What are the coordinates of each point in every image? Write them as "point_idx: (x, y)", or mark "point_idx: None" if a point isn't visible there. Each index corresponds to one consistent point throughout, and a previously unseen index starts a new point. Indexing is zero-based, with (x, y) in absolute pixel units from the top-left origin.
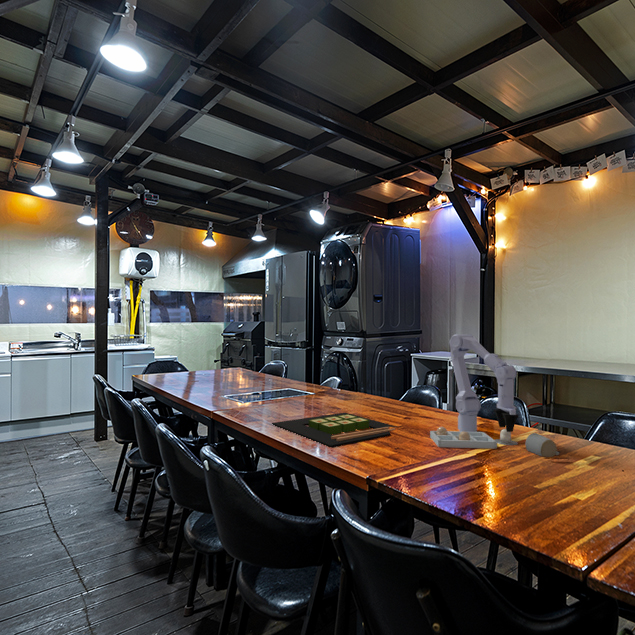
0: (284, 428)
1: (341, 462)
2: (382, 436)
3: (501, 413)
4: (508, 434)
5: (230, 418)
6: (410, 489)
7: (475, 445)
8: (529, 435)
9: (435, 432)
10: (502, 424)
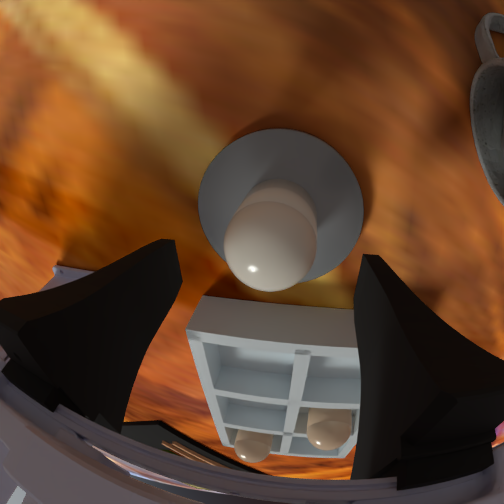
0: None
1: None
2: (231, 461)
3: (102, 373)
4: (316, 245)
5: (180, 486)
6: (495, 443)
7: None
8: None
9: (229, 438)
10: (165, 276)
